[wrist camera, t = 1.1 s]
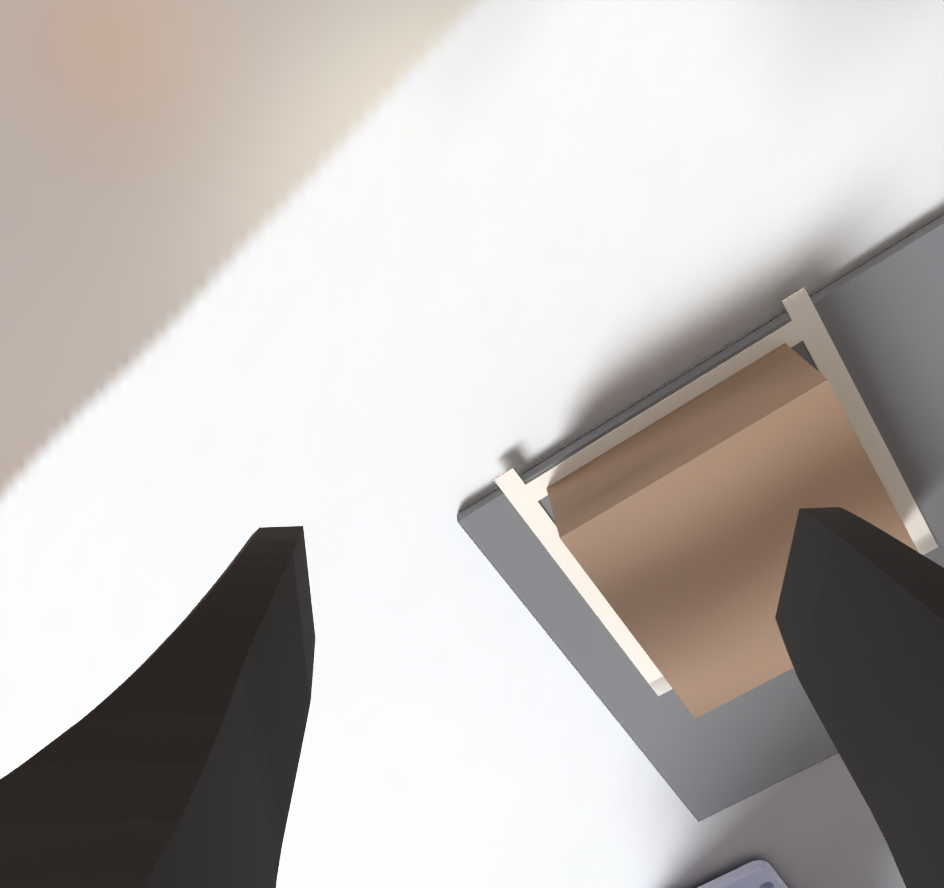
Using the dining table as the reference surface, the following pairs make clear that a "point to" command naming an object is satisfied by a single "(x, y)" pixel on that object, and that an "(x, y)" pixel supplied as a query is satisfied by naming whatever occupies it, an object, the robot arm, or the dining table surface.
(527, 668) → the dining table surface
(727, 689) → the walnut slab
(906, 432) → the mat
